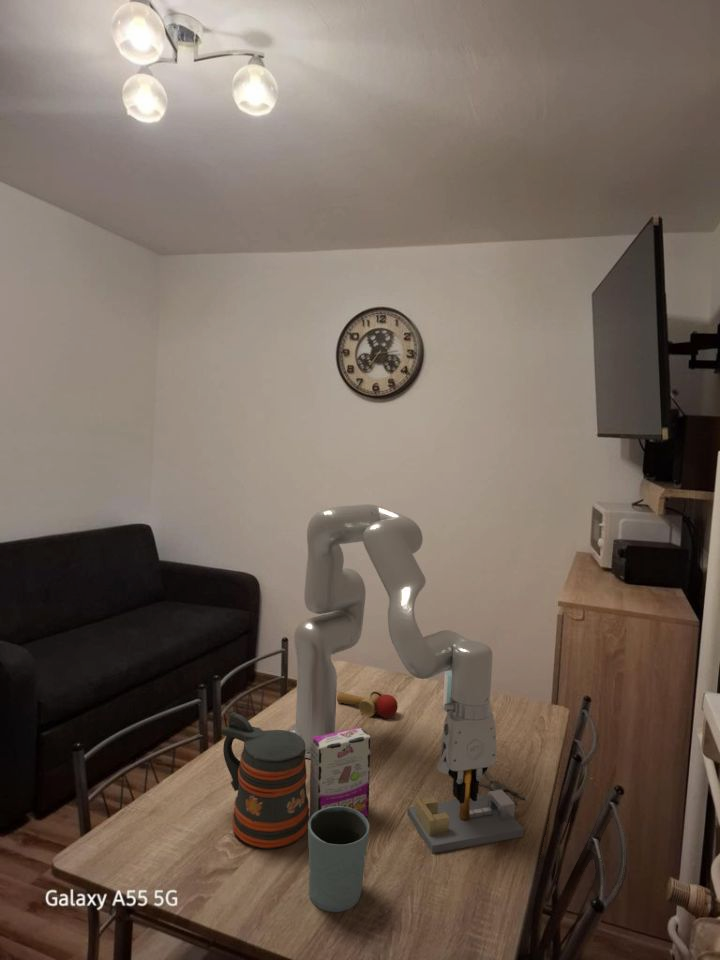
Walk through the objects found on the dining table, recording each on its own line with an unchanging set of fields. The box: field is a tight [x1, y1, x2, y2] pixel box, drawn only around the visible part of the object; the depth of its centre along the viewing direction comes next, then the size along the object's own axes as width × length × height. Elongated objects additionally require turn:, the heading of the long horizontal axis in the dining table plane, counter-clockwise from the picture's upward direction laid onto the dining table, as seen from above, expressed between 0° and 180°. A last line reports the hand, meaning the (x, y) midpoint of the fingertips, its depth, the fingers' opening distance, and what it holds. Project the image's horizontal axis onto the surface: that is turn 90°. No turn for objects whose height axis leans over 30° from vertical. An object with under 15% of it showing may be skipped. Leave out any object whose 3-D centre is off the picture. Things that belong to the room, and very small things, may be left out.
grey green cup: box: [307, 806, 371, 913], centre depth 103 cm, size 10×10×12 cm
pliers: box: [446, 769, 526, 805], centre depth 140 cm, size 10×1×20 cm
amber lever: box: [459, 770, 492, 820], centre depth 123 cm, size 7×2×10 cm, turn 108°
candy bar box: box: [309, 726, 371, 819], centre depth 124 cm, size 11×5×16 cm, turn 117°
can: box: [442, 670, 452, 708], centre depth 175 cm, size 7×7×12 cm
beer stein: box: [221, 711, 310, 849], centre depth 121 cm, size 19×15×20 cm
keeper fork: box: [415, 796, 450, 836], centre depth 121 cm, size 4×7×3 cm, turn 18°
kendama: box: [336, 689, 398, 719], centre depth 172 cm, size 8×6×18 cm
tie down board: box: [407, 794, 525, 854], centre depth 123 cm, size 19×12×2 cm, turn 108°
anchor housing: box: [487, 790, 515, 821], centre depth 125 cm, size 3×5×3 cm, turn 18°
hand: (465, 797), depth 123 cm, fingers closed on amber lever, 2 cm apart
